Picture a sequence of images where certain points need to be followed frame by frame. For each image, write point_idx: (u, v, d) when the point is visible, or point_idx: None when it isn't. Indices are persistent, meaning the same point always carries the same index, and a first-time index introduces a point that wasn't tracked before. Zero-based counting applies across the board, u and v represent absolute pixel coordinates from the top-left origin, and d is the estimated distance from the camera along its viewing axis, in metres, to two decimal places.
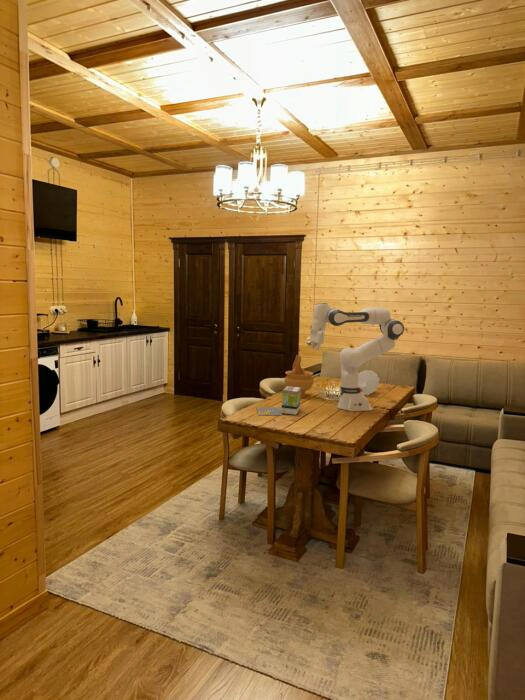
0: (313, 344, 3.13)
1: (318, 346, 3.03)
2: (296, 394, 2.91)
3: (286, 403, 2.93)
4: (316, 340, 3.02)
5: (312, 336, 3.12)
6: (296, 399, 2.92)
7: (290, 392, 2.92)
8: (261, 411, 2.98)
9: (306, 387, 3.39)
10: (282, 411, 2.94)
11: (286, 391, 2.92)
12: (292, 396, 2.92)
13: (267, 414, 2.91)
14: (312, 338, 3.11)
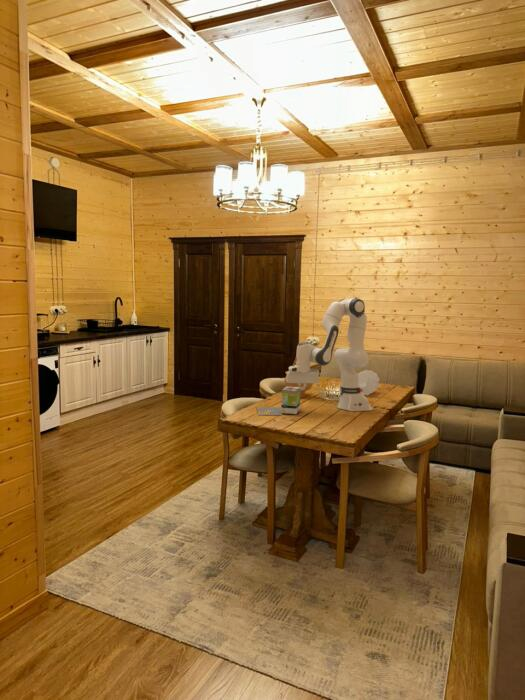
0: (300, 386, 2.99)
1: None
2: (295, 393, 2.92)
3: (285, 403, 2.93)
4: (312, 381, 2.97)
5: (295, 378, 2.96)
6: (296, 398, 2.92)
7: (289, 392, 2.92)
8: (261, 411, 2.98)
9: (306, 387, 3.39)
10: (282, 411, 2.94)
11: (285, 391, 2.93)
12: (291, 395, 2.92)
13: (267, 414, 2.91)
14: (297, 380, 2.97)
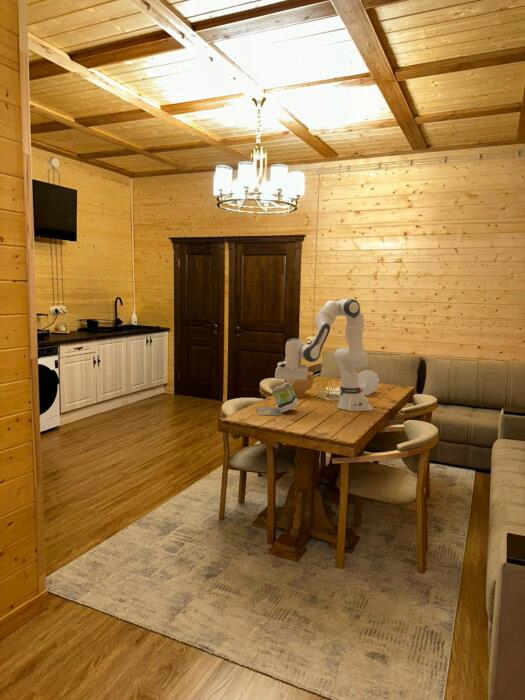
0: (289, 382, 2.98)
1: None
2: (285, 389, 2.92)
3: (281, 402, 2.93)
4: (300, 377, 2.97)
5: (284, 374, 2.96)
6: (287, 393, 2.92)
7: (279, 390, 2.93)
8: (261, 411, 2.98)
9: (306, 387, 3.39)
10: (281, 411, 2.94)
11: (275, 391, 2.93)
12: (282, 393, 2.92)
13: (267, 414, 2.91)
14: (285, 376, 2.96)
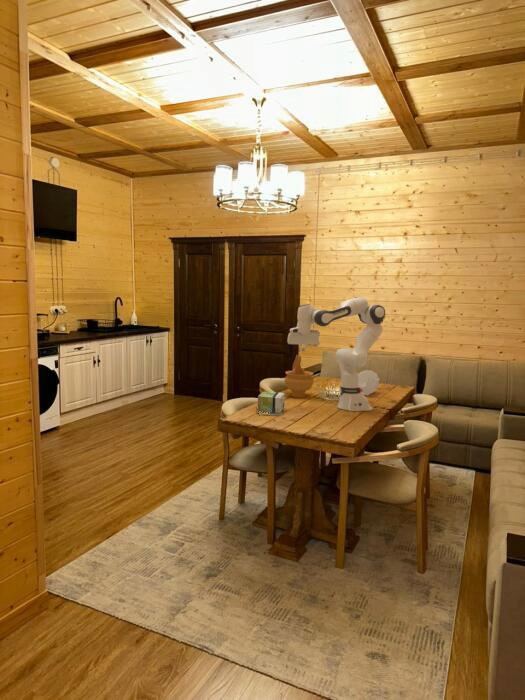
0: None
1: None
2: (260, 397, 2.96)
3: (270, 408, 2.95)
4: (313, 342, 3.05)
5: (296, 339, 3.04)
6: (265, 397, 2.95)
7: (259, 403, 2.96)
8: (261, 411, 2.98)
9: (306, 387, 3.39)
10: (278, 411, 2.94)
11: (258, 407, 2.97)
12: (262, 401, 2.96)
13: (267, 414, 2.91)
14: (297, 341, 3.04)
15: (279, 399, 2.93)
